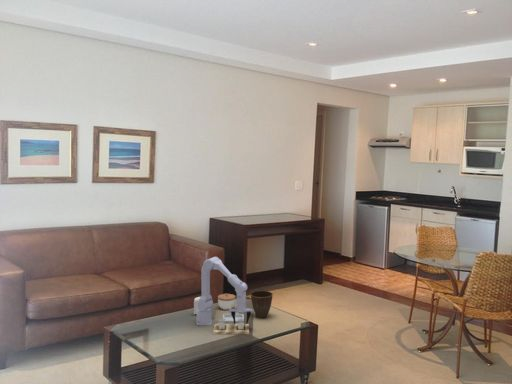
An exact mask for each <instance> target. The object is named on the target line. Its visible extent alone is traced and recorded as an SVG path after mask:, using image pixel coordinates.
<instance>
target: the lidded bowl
mask: <svg viewBox="0 0 512 384" xmlns="http://www.w3.org/2000/svg"><path fill="white" fill-rule="evenodd" d="M236 299H237V295H235V294H231V293H226V292H225V293H222V294H219V295H217V304H218V306H219V308H220V309H221V310H222V309H223V310H222V311H229V310H230V309H234V307H235V305H236Z"/></svg>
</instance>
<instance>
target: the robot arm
mask: <svg viewBox="0 0 512 384" xmlns="http://www.w3.org/2000/svg"><path fill="white" fill-rule="evenodd" d="M211 270H218V271H219V272H220V273H222V274H223V275H224V276H225V277H226V278H227V282H228V283H229V284H230V285H231V286H232V287H233V288H234V291H235V292H236V308H234V307H233V308H232V309H230V310H228V311H229V313H228V314H231V315H232V317H233V320H234V324H235V314H236V313H246V321H245V322H246V323H245V324H249V319H250V317H251V315H252V314H253V313H254V309H253V308H248V307H247V305H246V304H247V292H246V291H247V290H248V289H249V288H248V284H247V283H246V282H243V281H242V280H241V279H240V278H239V277H238V276H237V274H235V273H233V274H232V273H231V272H230V270H229V269H228V268H227V267H226V265H224V264H223V261H222V259H220V258H219V257H218V256H213V257H211V258H207V259H206V260H204V261H203V264H202V266H201V270H200V272H201V273H200V275H201V276H200V277H201V280H200V281H201V296H199V297H200V299H199V303H198V308H199V310H197V315H196V320H195V321H196V326H203V325H204V326H206V325H207V326H209V325H210V326H211V325H212V324H213V323H212V322H213V320H212V307H213V306H214V301H213V297H212V295H211Z"/></svg>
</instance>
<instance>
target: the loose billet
mask: <svg viewBox="0 0 512 384" xmlns="http://www.w3.org/2000/svg"><path fill="white" fill-rule="evenodd" d="M244 324H245V318H244V319H238V327H237V330H245V327H244Z"/></svg>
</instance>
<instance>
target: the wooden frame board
mask: <svg viewBox="0 0 512 384" xmlns="http://www.w3.org/2000/svg"><path fill="white" fill-rule="evenodd" d="M237 328H238V324H225V330H219V323H214V325H213V331H212V334H213V335H250V324H249V323H248V324H246V323H244V330H238V329H237Z"/></svg>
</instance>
